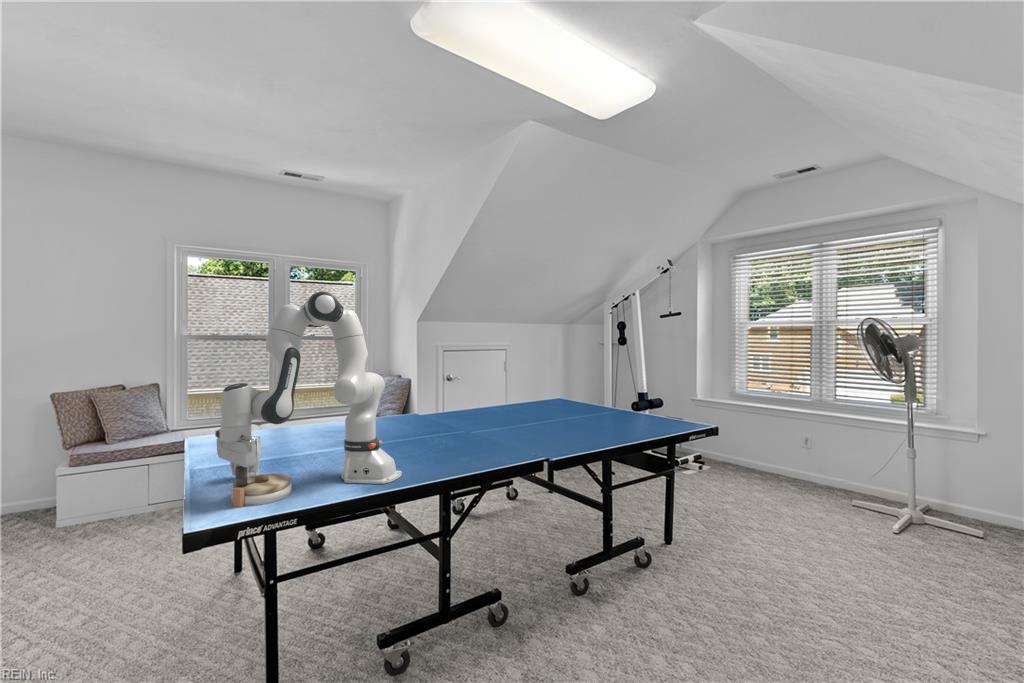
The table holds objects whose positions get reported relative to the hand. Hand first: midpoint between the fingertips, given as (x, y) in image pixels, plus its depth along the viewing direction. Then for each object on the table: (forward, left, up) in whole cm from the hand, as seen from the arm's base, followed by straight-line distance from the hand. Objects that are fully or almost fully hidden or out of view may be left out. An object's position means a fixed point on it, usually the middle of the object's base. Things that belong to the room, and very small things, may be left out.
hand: (236, 475), depth 163 cm
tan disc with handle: (-6, -5, -5) cm, 9 cm away
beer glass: (+13, -20, -8) cm, 25 cm away
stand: (-6, -5, -8) cm, 11 cm away
